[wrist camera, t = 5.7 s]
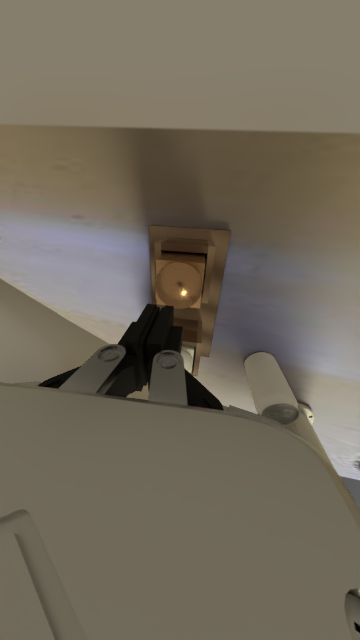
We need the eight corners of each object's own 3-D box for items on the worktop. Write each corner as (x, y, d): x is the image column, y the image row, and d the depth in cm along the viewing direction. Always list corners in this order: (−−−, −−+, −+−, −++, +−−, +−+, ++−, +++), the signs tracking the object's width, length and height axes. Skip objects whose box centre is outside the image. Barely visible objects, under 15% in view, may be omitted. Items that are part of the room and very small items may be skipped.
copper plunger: (200, 287, 26) (199, 310, 20) (167, 284, 26) (155, 306, 20) (204, 251, 24) (205, 264, 17) (167, 249, 24) (154, 260, 17)
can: (275, 371, 39) (301, 426, 29) (245, 374, 41) (259, 428, 30) (274, 348, 36) (303, 400, 26) (242, 353, 38) (256, 404, 27)
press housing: (208, 353, 39) (210, 383, 32) (154, 347, 39) (144, 375, 32) (229, 230, 27) (239, 234, 20) (151, 225, 27) (133, 227, 20)
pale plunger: (193, 347, 36) (191, 375, 30) (169, 344, 37) (162, 371, 30) (195, 326, 34) (194, 352, 27) (169, 323, 34) (161, 348, 28)
